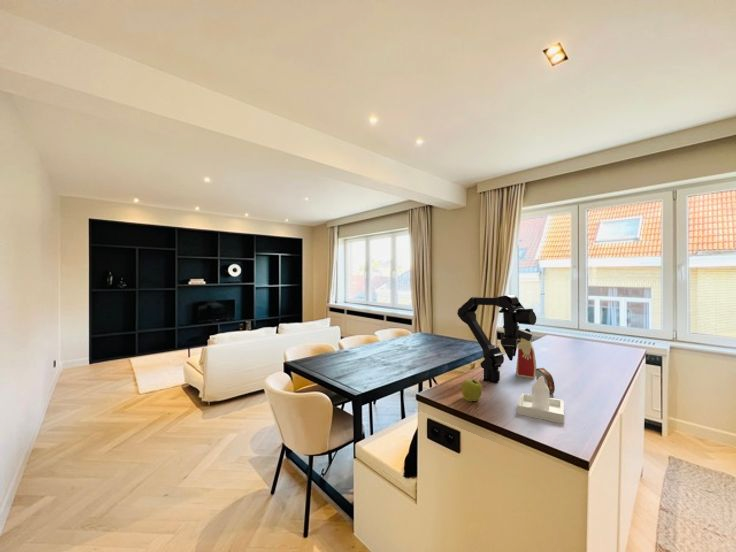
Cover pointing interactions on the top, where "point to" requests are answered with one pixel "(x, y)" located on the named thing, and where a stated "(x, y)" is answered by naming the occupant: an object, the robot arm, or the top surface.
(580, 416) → the top surface
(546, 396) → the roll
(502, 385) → the top surface
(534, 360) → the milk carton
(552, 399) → the tray
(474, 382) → the apple
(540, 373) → the tin
